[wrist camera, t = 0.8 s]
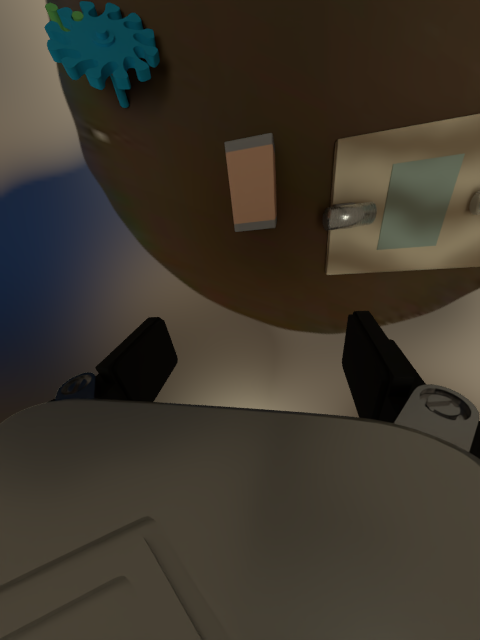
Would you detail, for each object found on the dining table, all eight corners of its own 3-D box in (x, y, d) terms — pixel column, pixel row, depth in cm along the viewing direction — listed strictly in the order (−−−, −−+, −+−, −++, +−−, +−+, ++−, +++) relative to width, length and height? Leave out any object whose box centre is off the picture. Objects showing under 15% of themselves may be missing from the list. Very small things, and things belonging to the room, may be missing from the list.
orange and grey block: (237, 154, 26) (224, 142, 20) (274, 147, 25) (272, 132, 19) (244, 224, 30) (235, 231, 24) (277, 221, 29) (275, 227, 23)
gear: (178, 35, 21) (105, 88, 19) (184, 106, 27) (129, 153, 24) (86, -31, 21) (1, 14, 18) (112, 54, 27) (50, 97, 24)
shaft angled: (321, 206, 26) (326, 208, 23) (371, 201, 25) (383, 201, 22) (320, 228, 27) (324, 232, 24) (367, 223, 26) (378, 227, 23)
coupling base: (335, 142, 24) (342, 135, 21) (537, 106, 20) (578, 92, 18) (325, 271, 31) (329, 279, 29) (472, 263, 28) (494, 270, 25)
